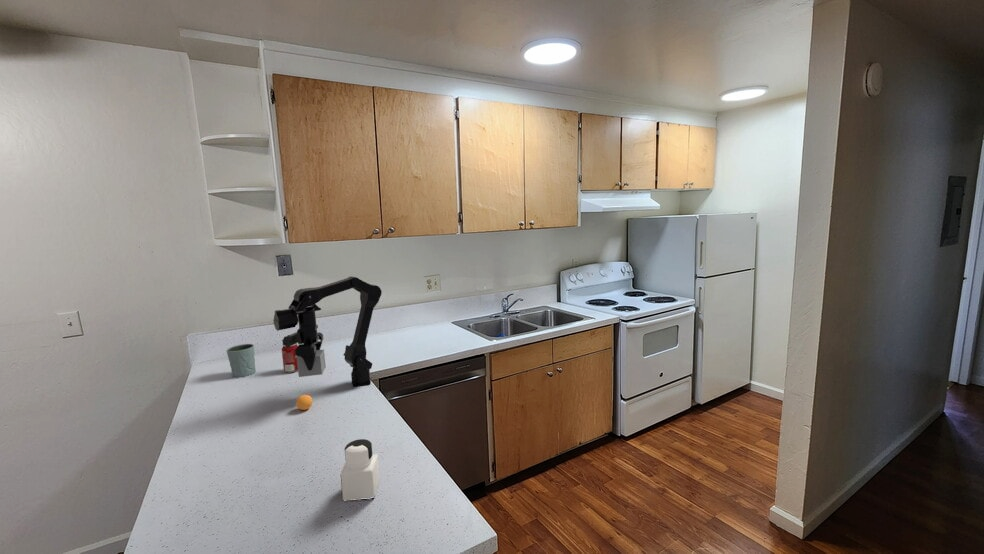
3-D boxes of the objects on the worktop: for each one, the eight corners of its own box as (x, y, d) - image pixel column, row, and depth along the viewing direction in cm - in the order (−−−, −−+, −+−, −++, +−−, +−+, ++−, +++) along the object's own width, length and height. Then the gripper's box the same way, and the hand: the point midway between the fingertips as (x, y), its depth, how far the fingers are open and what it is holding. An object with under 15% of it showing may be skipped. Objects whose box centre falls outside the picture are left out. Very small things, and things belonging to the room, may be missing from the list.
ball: (314, 405, 147) (312, 391, 146) (311, 411, 142) (310, 397, 141) (298, 407, 146) (297, 393, 145) (295, 413, 141) (294, 399, 140)
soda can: (294, 373, 178) (291, 346, 176) (280, 373, 180) (277, 346, 178) (304, 368, 185) (301, 341, 183) (291, 367, 186) (288, 341, 184)
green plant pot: (262, 371, 183) (259, 345, 181) (240, 380, 173) (236, 352, 172) (247, 368, 187) (243, 342, 185) (224, 377, 178) (220, 349, 176)
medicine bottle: (350, 483, 102) (346, 436, 101) (380, 480, 103) (376, 434, 101) (342, 502, 95) (337, 453, 94) (374, 499, 96) (370, 450, 94)
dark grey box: (325, 366, 156) (323, 349, 155) (322, 374, 149) (320, 355, 148) (303, 369, 155) (301, 351, 154) (298, 377, 147) (296, 358, 146)
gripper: (289, 320, 157) (294, 360, 159) (275, 333, 139) (281, 378, 141) (321, 317, 159) (325, 357, 161) (311, 330, 141) (316, 374, 143)
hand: (312, 366), depth 152 cm, fingers closed on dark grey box, 8 cm apart
